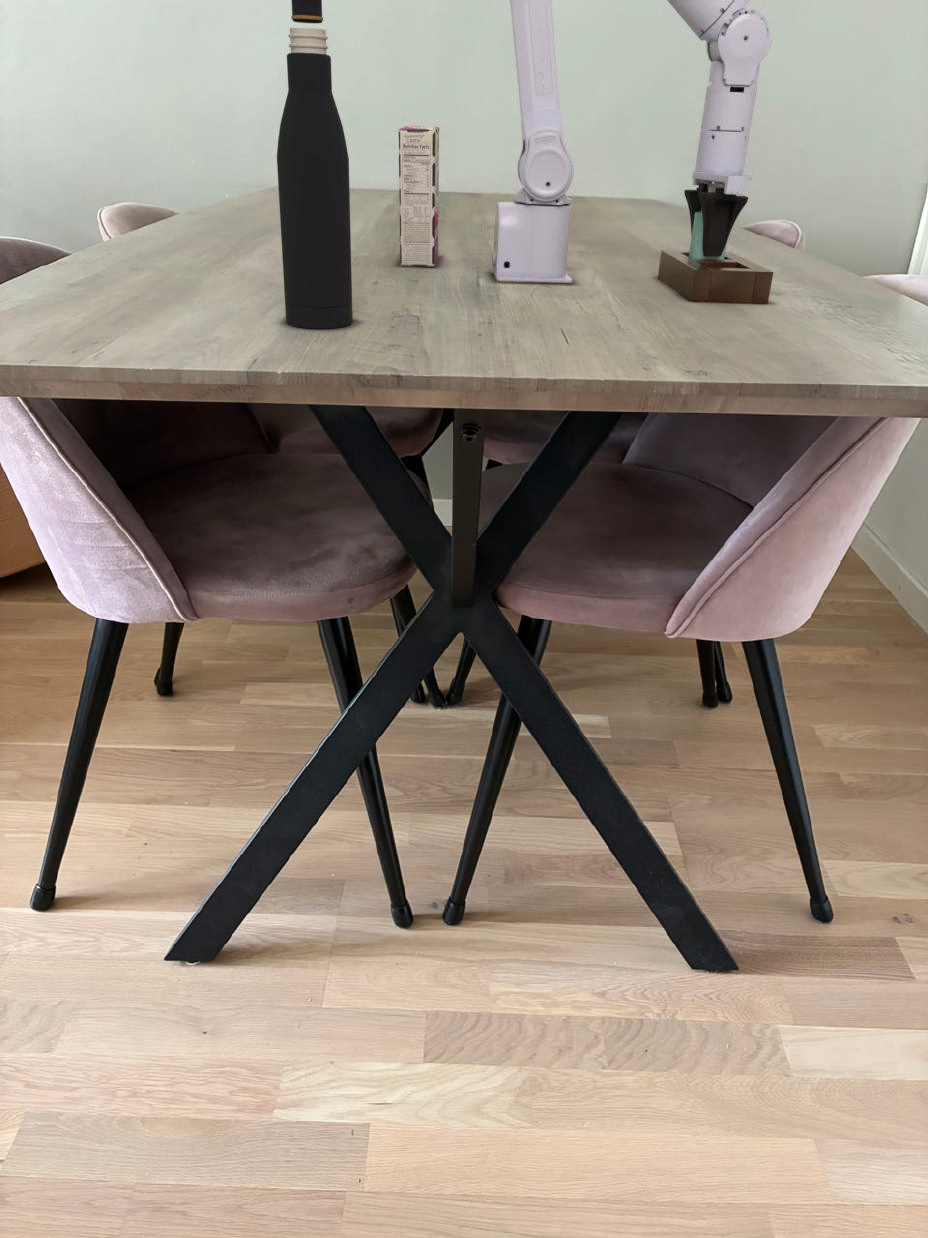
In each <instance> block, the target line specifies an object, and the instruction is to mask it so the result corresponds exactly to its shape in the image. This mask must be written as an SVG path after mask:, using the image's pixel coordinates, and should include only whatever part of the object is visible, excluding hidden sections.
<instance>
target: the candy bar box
mask: <svg viewBox="0 0 928 1238" xmlns="http://www.w3.org/2000/svg"><path fill="white" fill-rule="evenodd" d="M397 131H398V183H399V185H398V188H399V189H398V190H399V191H398V193H399V265H400V266H402V267H408V268H409V267H410V268H411V267H413V268H434V267H435V266H436V263H437V259H438V257H439V205H440V204H439V200H440V198H439V197H440V195H439V194H440V193H439V192H440V191H439V190H440V184H439V183H440V126H432V125H405V126H403V127H401V128H399V129H397Z"/></svg>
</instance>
